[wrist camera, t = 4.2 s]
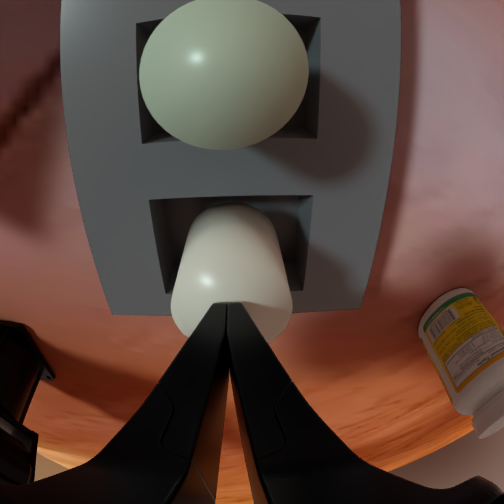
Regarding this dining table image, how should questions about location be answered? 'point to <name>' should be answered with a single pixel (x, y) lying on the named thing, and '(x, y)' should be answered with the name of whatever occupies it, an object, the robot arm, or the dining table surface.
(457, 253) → the dining table surface
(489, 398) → the supplement bottle
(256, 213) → the cream button
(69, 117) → the panel
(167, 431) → the robot arm
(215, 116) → the sage button
